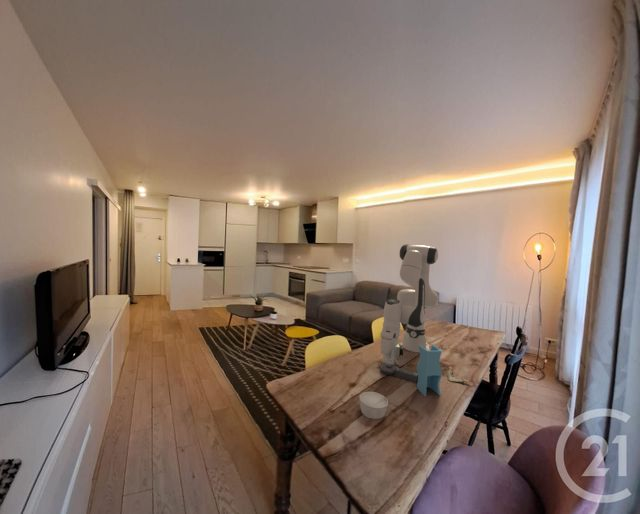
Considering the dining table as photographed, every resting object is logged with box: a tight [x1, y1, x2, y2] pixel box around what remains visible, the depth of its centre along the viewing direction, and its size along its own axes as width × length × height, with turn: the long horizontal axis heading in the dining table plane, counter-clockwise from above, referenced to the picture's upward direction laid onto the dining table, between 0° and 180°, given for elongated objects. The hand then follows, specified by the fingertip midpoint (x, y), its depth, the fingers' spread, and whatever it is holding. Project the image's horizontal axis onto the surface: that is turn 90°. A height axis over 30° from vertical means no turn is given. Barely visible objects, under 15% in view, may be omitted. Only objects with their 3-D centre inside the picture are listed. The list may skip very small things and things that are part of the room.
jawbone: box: [445, 365, 471, 385], centre depth 141 cm, size 9×20×2 cm, turn 0°
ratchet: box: [380, 362, 418, 383], centre depth 136 cm, size 8×24×8 cm, turn 59°
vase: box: [416, 344, 443, 397], centre depth 123 cm, size 8×8×20 cm
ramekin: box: [358, 391, 389, 420], centre depth 105 cm, size 11×11×5 cm
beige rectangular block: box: [382, 347, 397, 364], centre depth 140 cm, size 5×5×7 cm
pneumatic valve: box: [380, 343, 404, 365], centre depth 151 cm, size 6×12×12 cm, turn 78°
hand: (389, 357), depth 140 cm, fingers closed on beige rectangular block, 5 cm apart
